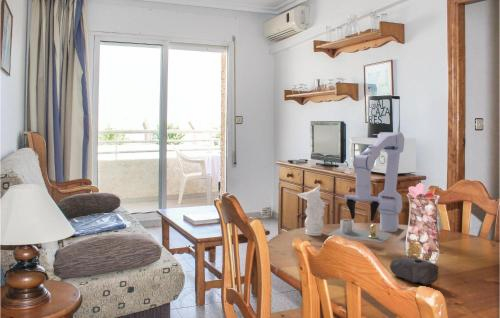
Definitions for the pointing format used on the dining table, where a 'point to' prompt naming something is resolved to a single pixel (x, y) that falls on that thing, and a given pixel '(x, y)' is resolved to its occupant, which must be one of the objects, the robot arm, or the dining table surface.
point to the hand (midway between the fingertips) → (362, 219)
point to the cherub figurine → (313, 211)
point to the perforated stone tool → (415, 270)
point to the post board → (364, 234)
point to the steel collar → (346, 226)
